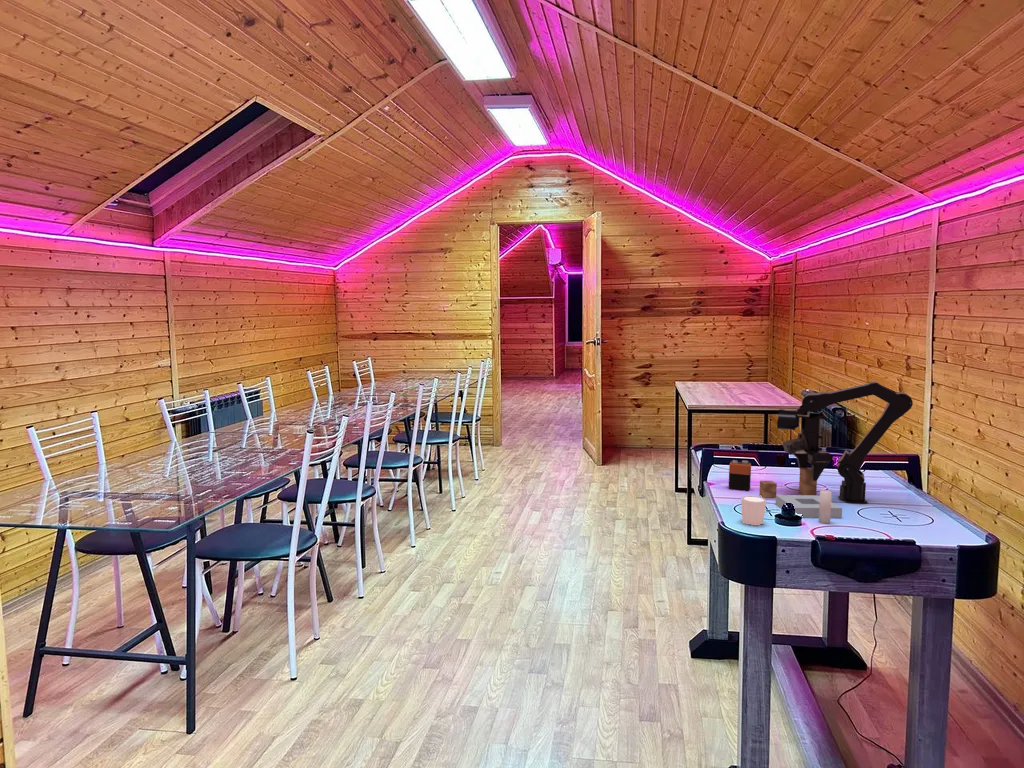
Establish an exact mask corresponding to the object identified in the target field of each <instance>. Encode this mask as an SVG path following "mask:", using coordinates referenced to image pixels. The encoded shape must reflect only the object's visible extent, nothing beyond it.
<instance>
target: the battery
mask: <svg viewBox="0 0 1024 768" xmlns="http://www.w3.org/2000/svg"><path fill="white" fill-rule="evenodd" d="M728 465H729V466H728V467H729V469H728V489H729V490H734V489H735V490H736V491H743V490H745V492H749V491H750V489H751V479H752V478H751V477H752V475H751V473H752V463H751V462H749V461H748V460H742V461H738V460H737V459H736V460H735V459H733V460H731V461H730V463H729V464H728Z"/></svg>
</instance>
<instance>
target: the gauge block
mask: <svg viewBox="0 0 1024 768" xmlns="http://www.w3.org/2000/svg"><path fill="white" fill-rule="evenodd" d="M832 494H833V492H832V491H831V490H826V489H824V490H823V489H822V490H821V489H820V490H819V495H817V494H816V495H800V494H793V495H792V494H788V495H787V494H776V498H775V505H776V506H777V507H779V508H780V509H781V508H782V506H783V504H785V503H792V504H793V506H794V509H795V512H796V513H797V514H802V515H803V517H804V519H806V518H807V519H809V518H810V519H814V518H815V519H818V523H821V524H824V523H825V524H827V525H828V523H829V524H830V523H831V519H842V517H843V507H841V506H839V505H837V504H836V503H834V502H833V501H832Z"/></svg>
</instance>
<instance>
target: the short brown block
mask: <svg viewBox="0 0 1024 768" xmlns="http://www.w3.org/2000/svg"><path fill="white" fill-rule="evenodd" d="M777 485H778V484H777V483H776V482H775V481H773V480H759V496H760V495H761V496H762V497H761V496H760V497H761V498H763V499H776V495H777V491H778V490H777Z"/></svg>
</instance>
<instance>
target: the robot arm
mask: <svg viewBox="0 0 1024 768" xmlns="http://www.w3.org/2000/svg"><path fill="white" fill-rule="evenodd" d="M869 396H875V397H877V398H879V399H881V400H882V401H884V402H886V406H885V407H884V409H883V412H882V414H881V415H880V416H879V418H878V419H877V420H876V422H874V423H873V426H871V427H870V429H869V430H868V432H866V434H865V435H864V437H862V439H861V440H860V441H859V443H858V444H857V445H856V446H855V448H854V449H852V450H851V451H848V450H847V449H845V450H844V452H843V453H842V455H841V456H840V457H839V458H838V460H837V473H838V474H839V476H841V478H843V479H844V480H843V479H842V480H841V484H840V486H839V495H838V498H839V499H840V500H842V501H844V502H846V503H848V504H849V503H850V504H851V503H853V504H859V503H860V504H861V503H863V504H867V503H869V502H868V500H866V485H867V482H865V473H863V472H862V471H861V467H862V465H863V462H864V460H865V458H866V457H867V455H868V454H869V453H870V452H871V451H872V449H873V448H874V447H875V446H876V445H877V443H878V442H879V441H880V440H881V438H882V437H883V436H884V434H885V433H886V432H887V431H888V430H889V428H890V427H892V425H893V423H895V422H896V421H898V420H899V419H900V418H901V417H902V416H904V415H905V414H906V413H907V412H908V411H910V410H911V409H912V407H913V406H914V405H913V404H914V403H913V402H914V401H913V399H912V397H911V396H910V395H909V394H908V393H906V392H904V391H899V392H898V391H895V390H893V389H890V388H888V387H886V386H884V385H882V384H880V382H878V381H870V382H868V383H864V384H863V383H862V384H860V385H855V386H852V387H847V388H843V389H838V390H834V391H825V392H822V391H821V392H810V393H807V394H805V395H804V396H803V398H802V402H801V405H800V406H798V407H797V408H796V409H795V410H793V409H783V408H779V409H778V415H777V420H776V426H777V427H776V428H777V430H783V431H784V430H785V431H786V430H788V431H796V429H797V428H801V432H800V433H798V434H797V437H796V438H792V439H789V440H786V441H784V442H782V446H783V449H784V452H785V453H787V454H788V455H793V456H794V457H795V459H796V460H797V465H798V468H799V470H800V468H808V467H809V464H810V465H811V468H812V476H813V481H817V482H818V480H819V479H820V476H821V474H822V473H823V471H824V470H825V468H826V467H827V466H828V464H830V462H833V461H832V460H833V455H832V454H831V453H830V452H828V451H826V450H823V447H821V446H820V445H821V444H820V443H821V439H823V434H821V425H822V423H821V420H826V419H828V415H827V414H825V413H824V412H823V409H824V408H827V407H829V406H831V405H834V404H837V403H842V402H846V401H850V400H851V401H852V400H857V399H860V398H864V397H869ZM819 410H821V411H820V412H818V411H819ZM807 413H809V414H807ZM800 421H801V423H800ZM800 424H801V427H800Z"/></svg>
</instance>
